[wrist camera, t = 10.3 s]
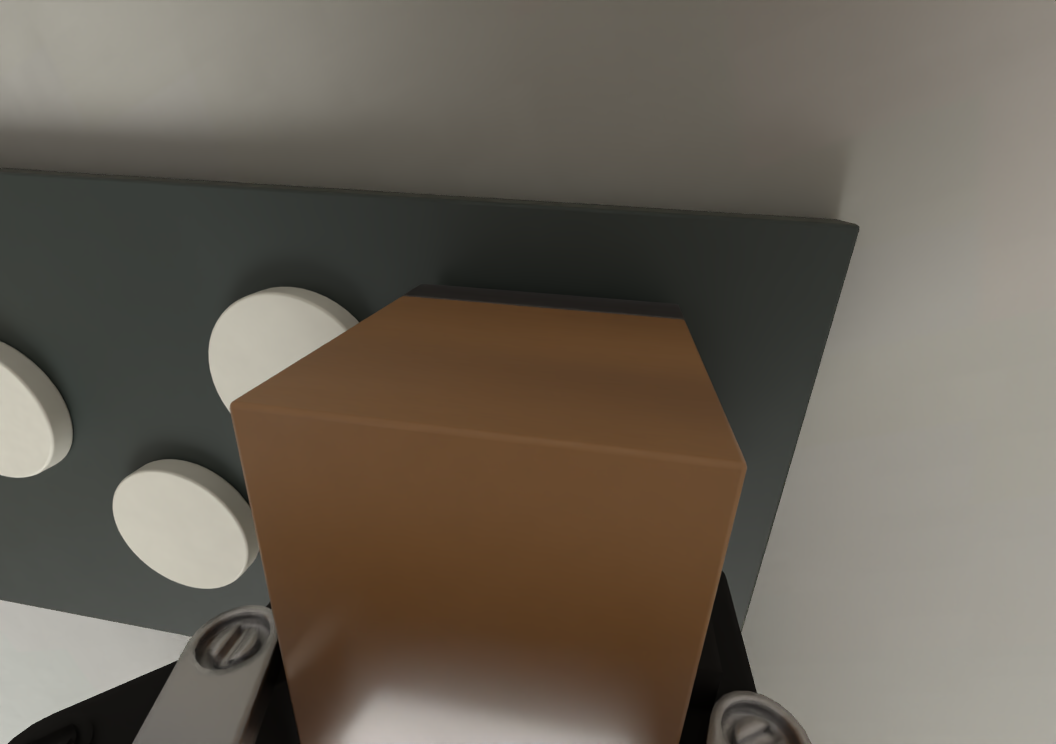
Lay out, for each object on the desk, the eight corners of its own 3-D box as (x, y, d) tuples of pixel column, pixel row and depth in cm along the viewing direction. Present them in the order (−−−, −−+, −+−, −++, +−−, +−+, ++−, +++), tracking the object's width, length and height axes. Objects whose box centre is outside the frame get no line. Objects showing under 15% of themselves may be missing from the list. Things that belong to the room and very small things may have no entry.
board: (-168, 157, 13) (-228, 157, 12) (839, 219, 10) (862, 225, 9) (21, 577, 18) (-10, 599, 17) (705, 703, 15) (711, 737, 14)
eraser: (420, 282, 10) (225, 403, 5) (678, 302, 9) (750, 464, 4) (436, 667, 14) (339, 939, 9) (615, 699, 14) (614, 1012, 9)
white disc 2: (114, 449, 14) (92, 460, 13) (248, 468, 13) (232, 481, 13) (150, 562, 15) (133, 577, 15) (271, 584, 15) (258, 600, 14)
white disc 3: (210, 278, 11) (190, 284, 11) (380, 293, 11) (367, 300, 10) (241, 435, 13) (225, 447, 12) (391, 454, 12) (381, 468, 12)
